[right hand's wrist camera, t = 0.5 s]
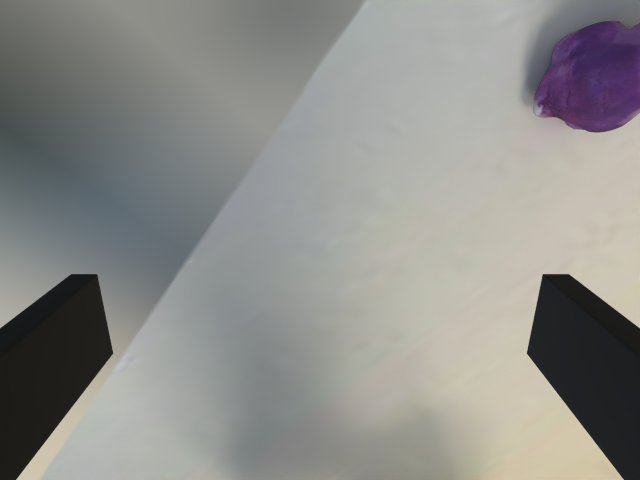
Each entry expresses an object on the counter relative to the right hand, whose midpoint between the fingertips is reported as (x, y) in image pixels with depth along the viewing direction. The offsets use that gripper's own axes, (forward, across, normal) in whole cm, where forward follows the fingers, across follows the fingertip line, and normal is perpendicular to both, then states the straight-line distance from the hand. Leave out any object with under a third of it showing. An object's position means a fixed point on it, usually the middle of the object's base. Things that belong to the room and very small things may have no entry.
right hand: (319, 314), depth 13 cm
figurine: (+28, -23, -8) cm, 37 cm away
